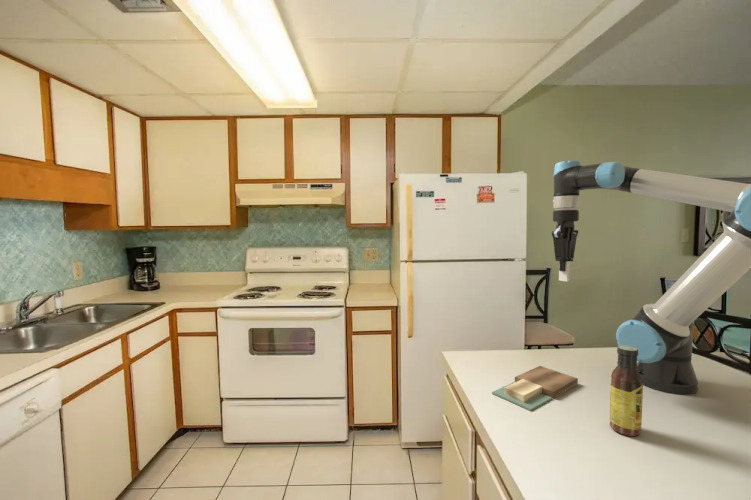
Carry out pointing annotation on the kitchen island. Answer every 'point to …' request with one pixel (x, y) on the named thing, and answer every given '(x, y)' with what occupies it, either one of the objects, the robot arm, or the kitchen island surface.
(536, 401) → the rubber mat
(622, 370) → the sauce bottle
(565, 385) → the walnut deck
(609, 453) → the kitchen island surface
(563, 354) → the kitchen island surface
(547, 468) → the kitchen island surface
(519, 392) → the maple tile
